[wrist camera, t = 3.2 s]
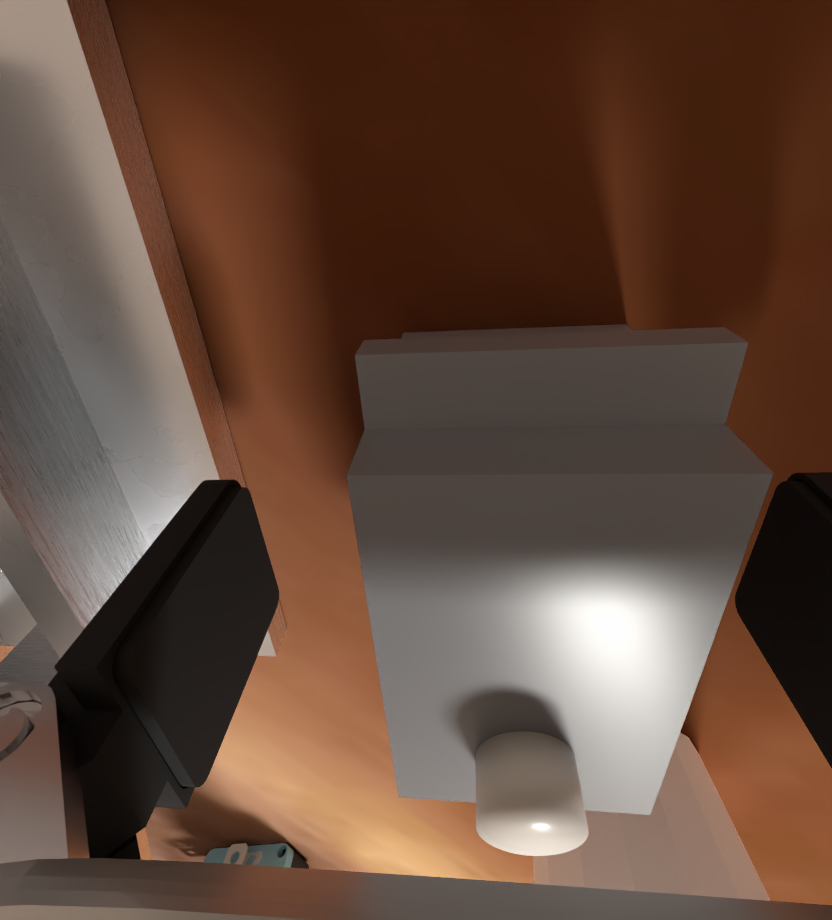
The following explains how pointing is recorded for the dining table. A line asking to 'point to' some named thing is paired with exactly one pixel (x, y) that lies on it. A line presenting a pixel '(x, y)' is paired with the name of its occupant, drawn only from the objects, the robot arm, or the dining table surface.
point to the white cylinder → (662, 843)
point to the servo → (547, 560)
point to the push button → (257, 855)
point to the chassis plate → (88, 339)
